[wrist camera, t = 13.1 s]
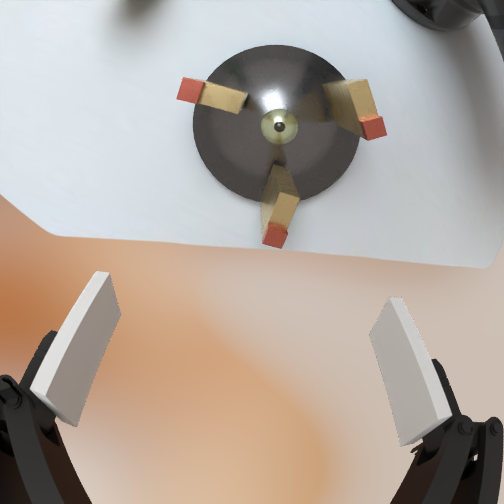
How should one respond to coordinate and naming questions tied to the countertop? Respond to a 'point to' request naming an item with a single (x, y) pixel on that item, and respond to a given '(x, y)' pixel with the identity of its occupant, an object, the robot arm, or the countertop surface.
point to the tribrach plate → (274, 123)
